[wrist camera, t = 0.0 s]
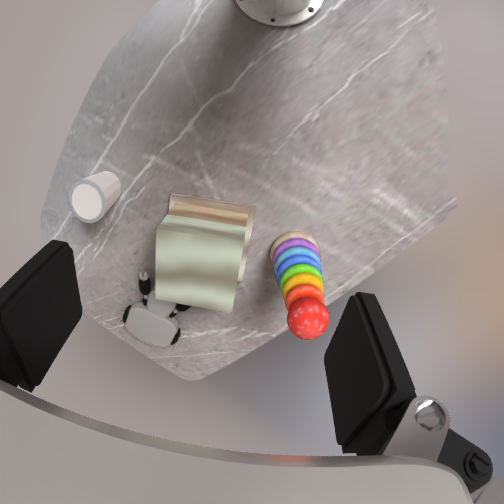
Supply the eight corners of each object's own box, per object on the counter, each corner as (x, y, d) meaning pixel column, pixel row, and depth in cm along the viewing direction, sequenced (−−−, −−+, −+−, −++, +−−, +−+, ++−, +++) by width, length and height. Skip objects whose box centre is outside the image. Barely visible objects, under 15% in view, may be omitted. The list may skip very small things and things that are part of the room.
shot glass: (121, 212, 48) (102, 229, 42) (87, 200, 47) (66, 216, 41) (128, 173, 45) (108, 186, 38) (92, 162, 44) (69, 174, 38)
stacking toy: (267, 270, 52) (267, 352, 35) (273, 226, 48) (278, 299, 32) (313, 275, 52) (331, 356, 36) (323, 232, 48) (350, 305, 32)
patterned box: (172, 193, 46) (149, 219, 37) (255, 206, 47) (253, 237, 37) (168, 265, 52) (149, 303, 43) (242, 277, 53) (237, 319, 43)
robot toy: (143, 260, 53) (122, 318, 59) (135, 272, 49) (114, 331, 54) (204, 289, 56) (175, 343, 61) (200, 303, 51) (171, 357, 57)
